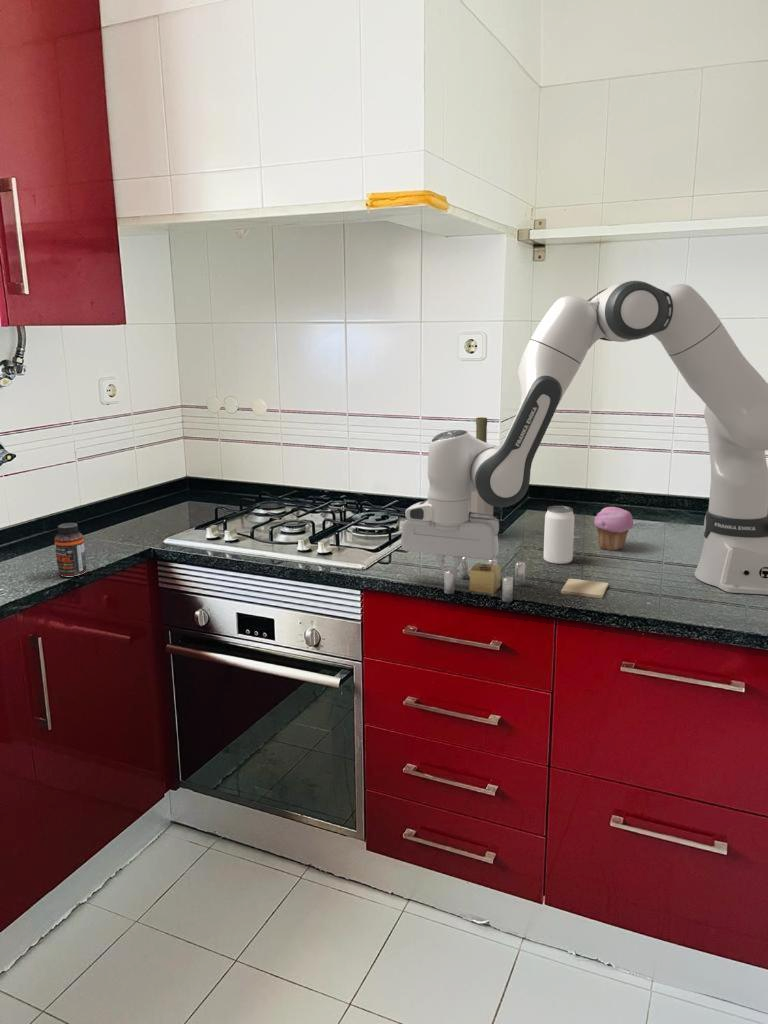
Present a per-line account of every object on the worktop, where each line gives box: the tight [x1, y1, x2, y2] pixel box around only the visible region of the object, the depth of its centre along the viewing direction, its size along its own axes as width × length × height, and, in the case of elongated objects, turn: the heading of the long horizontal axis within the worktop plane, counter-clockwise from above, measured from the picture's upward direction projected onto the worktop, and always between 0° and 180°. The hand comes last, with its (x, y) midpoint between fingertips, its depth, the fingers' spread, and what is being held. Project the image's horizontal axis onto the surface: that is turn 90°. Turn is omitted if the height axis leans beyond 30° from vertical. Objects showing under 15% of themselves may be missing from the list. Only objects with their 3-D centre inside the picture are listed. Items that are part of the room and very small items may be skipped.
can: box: [543, 505, 575, 565], centre depth 176 cm, size 6×6×12 cm
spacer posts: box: [443, 557, 526, 603], centre depth 160 cm, size 14×12×4 cm
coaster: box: [560, 577, 609, 599], centre depth 159 cm, size 8×8×1 cm
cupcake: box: [593, 506, 634, 551], centre depth 185 cm, size 9×9×10 cm
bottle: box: [471, 416, 494, 520], centre depth 194 cm, size 7×7×30 cm
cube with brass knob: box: [468, 562, 502, 595], centre depth 160 cm, size 5×5×5 cm
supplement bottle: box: [54, 522, 87, 576], centre depth 172 cm, size 6×6×11 cm
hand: (449, 575), depth 163 cm, fingers closed
